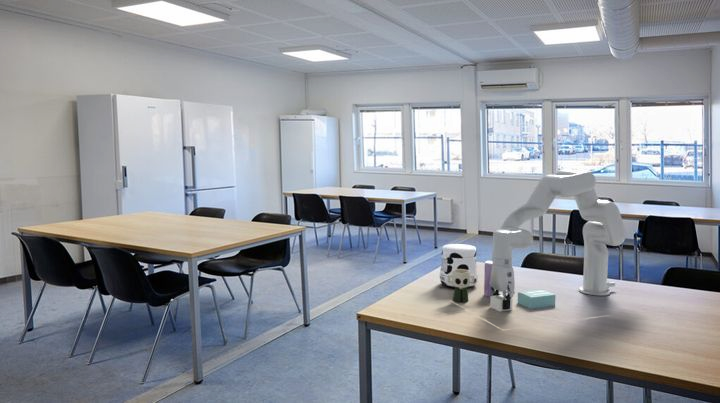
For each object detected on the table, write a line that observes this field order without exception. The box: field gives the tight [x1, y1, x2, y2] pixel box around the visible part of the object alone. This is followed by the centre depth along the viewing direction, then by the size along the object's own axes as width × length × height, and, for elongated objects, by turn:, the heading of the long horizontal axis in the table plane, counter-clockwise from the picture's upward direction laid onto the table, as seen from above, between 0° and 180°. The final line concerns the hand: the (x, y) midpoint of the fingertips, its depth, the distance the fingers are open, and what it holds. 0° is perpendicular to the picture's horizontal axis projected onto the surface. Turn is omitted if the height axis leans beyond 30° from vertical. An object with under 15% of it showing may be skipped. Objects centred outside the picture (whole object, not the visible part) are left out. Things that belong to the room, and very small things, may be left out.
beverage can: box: [483, 260, 493, 298], centre depth 228 cm, size 6×6×15 cm
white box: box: [489, 294, 513, 312], centre depth 211 cm, size 6×6×5 cm
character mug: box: [448, 269, 474, 303], centre depth 221 cm, size 11×7×13 cm, turn 86°
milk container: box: [439, 243, 479, 289], centre depth 246 cm, size 17×17×18 cm
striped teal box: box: [517, 288, 556, 309], centre depth 216 cm, size 12×8×5 cm, turn 109°
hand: (501, 306), depth 211 cm, fingers closed on white box, 6 cm apart
